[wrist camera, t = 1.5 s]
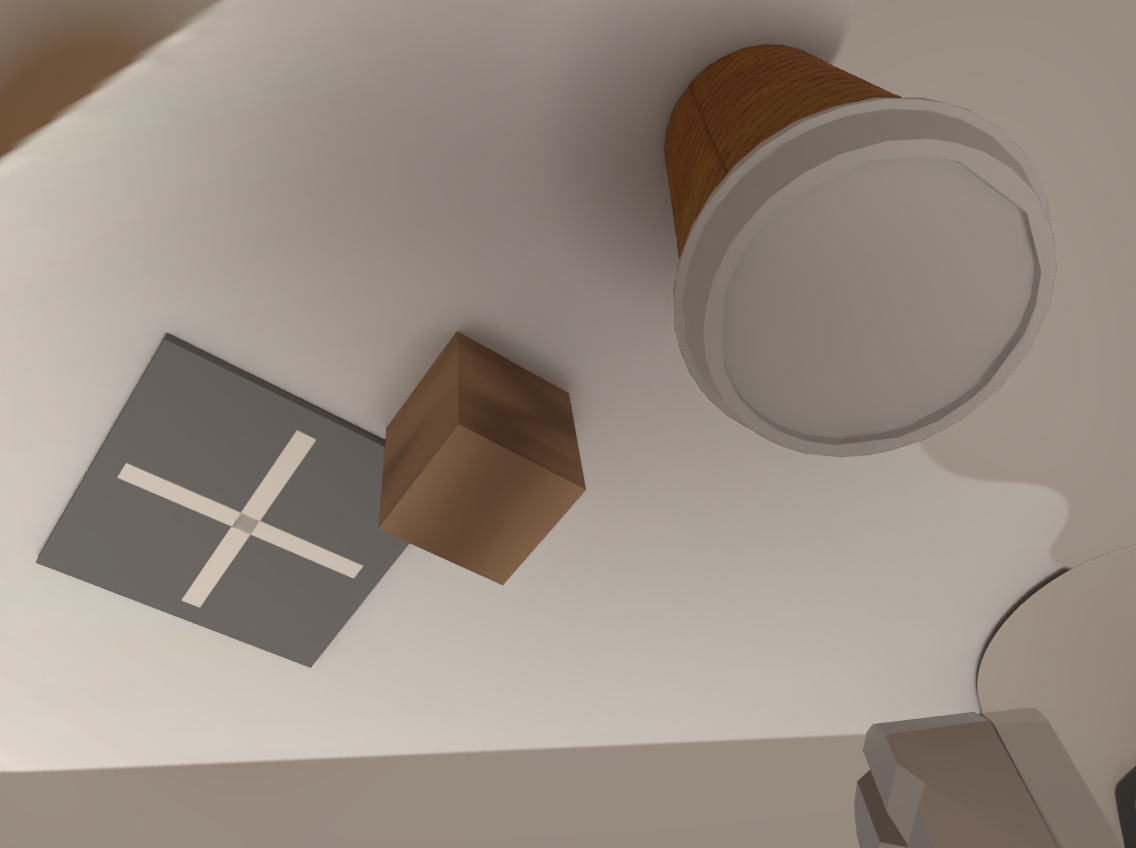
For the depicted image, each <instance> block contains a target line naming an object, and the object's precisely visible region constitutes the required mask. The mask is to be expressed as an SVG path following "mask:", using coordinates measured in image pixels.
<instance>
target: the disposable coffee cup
mask: <svg viewBox="0 0 1136 848" xmlns="http://www.w3.org/2000/svg"><path fill="white" fill-rule="evenodd" d="M665 160H666V168H667V173H668V180H669V187H670V194H671V202H672V209H673V217H674V224H675V231H676V237H677V247H678V254H679V263H678V268H677V274H676V280H675V285H674V291H673V292H674V319H675V331H676V335H677V339H678V343H679V347H680V351H681V353H682V356H683V358H684V361H685V363H686V365H687V368H688V370H689V373H690V374H691V376H692V377H693V379H694V380H695V382H696V383H697V384H698V386H699V387H700V389H701V390H702V392H703V393H704V394H705V395H706V396H707V397H708V398H709V400H710V401H711V402H712V403H713V404H715V405H716V406H717V407H718V408H719V409H720V410H722V411H723V412H724V413H725V414H726V415H727V416H729V417H730V418H732V419H734V420H736V421H737V422H739V423H741V424H742V425H744V426H746V427H748V428H749V429H751V430H753V431H754V432H756V433H757V434H758V435H760V436H762V437H764V438H766V439H768V440H770V441H772V442H774V443H776V444H778V445H780V446H783V447H786V448H789V449H792V450H796V451H799V452H802V453H805V454H814V455H825V456H837V457H848V456H862V455H871V454H876V453H881V452H886V451H890V450H894V449H897V448H900V447H903V446H906V445H909V444H912V443H915V442H918V441H921V440H924V439H926V438H928V437H930V436H932V435H934V434H935V433H937V432H939V431H941V430H943V429H945V428H947V427H948V426H950V425H952V424H954V423H956V422H958V421H960V420H962V419H963V418H964V417H965V416H967V415H968V414H969V413H970V412H972V411H973V410H974V409H975V408H976V407H978V406H979V405H980V404H982V403H983V402H984V401H985V400H987V399H988V398H989V397H990V396H991V395H993V394H994V393H995V392H996V391H998V390H999V388H1000V387H1001V386H1002V385H1003V383H1004V382H1005V381H1006V379H1007V378H1008V377H1009V376H1010V375H1011V373H1012V372H1013V371H1014V370H1015V369H1016V367H1017V366H1018V365H1019V364H1020V362H1021V361H1022V360H1023V359H1024V357H1025V356H1026V355H1027V353H1028V352H1029V351H1030V349H1031V347H1032V345H1033V343H1034V340H1035V338H1036V336H1037V334H1038V332H1039V330H1040V327H1041V325H1042V323H1043V321H1044V319H1045V317H1046V314H1047V312H1048V310H1049V308H1050V304H1051V298H1052V292H1053V286H1054V280H1055V273H1056V257H1055V243H1054V236H1053V233H1052V228H1051V220H1050V212H1049V205H1048V199H1047V197H1046V194H1045V192H1044V189H1043V187H1042V184H1041V181H1040V179H1039V176H1038V174H1037V171H1036V169H1035V168H1034V167H1033V165H1032V164H1031V162H1030V161H1029V160H1028V158H1027V157H1026V155H1025V154H1024V153H1023V151H1022V150H1021V148H1020V147H1019V146H1018V145H1017V144H1016V143H1015V142H1014V141H1013V140H1012V139H1011V138H1009V137H1008V136H1007V135H1006V134H1005V133H1004V132H1003V131H1002V130H1001V129H999V128H998V127H997V126H995V125H993V124H991V123H990V122H988V121H986V120H984V119H983V118H981V117H980V116H978V115H976V114H974V113H972V112H971V111H969V110H967V109H964V108H960V107H957V106H953V105H949V104H946V103H942V102H938V101H934V100H930V99H927V98H902V97H900V96H898V95H894V94H892V93H890V92H888V91H886V90H884V89H882V88H880V87H878V86H875V85H873V84H871V83H869V82H867V81H865V80H863V79H861V78H858V77H856V76H854V75H851V74H850V73H848V72H846V71H844V70H841V69H839V68H837V67H835V66H833V65H831V64H828V63H826V62H824V61H822V60H819V59H818V58H816V57H814V56H812V55H810V54H808V53H806V52H804V51H802V50H799V49H795V48H791V47H787V46H782V45H761V46H755V47H749V48H744V49H742V50H739V51H737V52H735V53H732V54H730V55H727V56H725V57H723V58H721V59H719V60H718V61H716V62H714V63H713V64H711V65H710V66H708V67H707V68H706V69H705V70H704V71H703V72H702V73H700V74H699V75H698V76H697V77H696V78H695V79H694V80H693V81H692V82H691V84H690V85H689V86H688V88H687V89H686V90H685V92H684V93H683V95H682V96H681V97H680V99H679V101H678V102H677V104H676V106H675V108H674V110H673V112H672V115H671V118H670V121H669V124H668V128H667V131H666V140H665Z"/></svg>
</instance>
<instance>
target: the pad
mask: <svg viewBox="0 0 1136 848" xmlns="http://www.w3.org/2000/svg"><path fill="white" fill-rule="evenodd" d="M384 453H385V440H383V439H380V438H378V437H376V436H374V435H372V434H370V433H368V432H366V431H364V430H362V429H360V428H358V427H356V426H354V425H352V424H350V423H348V422H346V421H344V420H342V419H340V418H338V417H336V416H334V415H332V414H330V413H328V412H326V411H324V410H321V409H319V408H317V407H315V406H313V405H311V404H309V403H307V402H305V401H303V400H301V399H299V398H297V397H295V396H293V395H291V394H289V393H287V392H285V391H283V390H281V389H279V388H277V387H275V386H273V385H271V384H269V383H267V382H264V381H262V380H260V379H258V378H256V377H254V376H252V375H250V374H248V373H246V372H244V371H242V370H240V369H238V368H236V367H234V366H232V365H230V364H228V363H226V362H224V361H222V360H220V359H218V358H216V357H214V356H212V355H210V354H208V353H205V352H203V351H201V350H199V349H197V348H195V347H193V346H191V345H189V344H187V343H185V342H183V341H181V340H179V339H177V338H175V337H173V336H171V335H169V334H166V336H165V337H164V339H163V341H162V343H161V344H160V346H159V348H158V350H157V351H156V353H155V355H154V357H153V358H152V360H151V362H150V364H149V365H148V367H147V369H146V370H145V372H144V374H143V376H142V377H141V379H140V381H139V383H138V384H137V386H136V388H135V390H134V391H133V393H132V395H131V397H130V398H129V400H128V402H127V403H126V405H125V407H124V409H123V410H122V412H121V414H120V416H119V417H118V419H117V421H116V423H115V424H114V426H113V428H112V430H111V431H110V433H109V435H108V436H107V438H106V440H105V442H104V443H103V445H102V447H101V449H100V450H99V452H98V454H97V456H96V457H95V459H94V461H93V463H92V464H91V466H90V468H89V469H88V471H87V473H86V475H85V476H84V478H83V480H82V482H81V483H80V485H79V487H78V489H77V490H76V492H75V494H74V496H73V497H72V499H71V501H70V502H69V504H68V506H67V508H66V509H65V511H64V513H63V515H62V516H61V518H60V520H59V522H58V523H57V525H56V527H55V529H54V530H53V532H52V534H51V536H50V537H49V539H48V541H47V542H46V544H45V546H44V548H43V549H42V551H41V553H40V555H39V556H38V559H37V561H36V563H38V564H41V565H43V566H46V567H48V568H51V569H54V570H56V571H59V572H62V573H64V574H67V575H69V576H72V577H75V578H77V579H80V580H82V581H85V582H88V583H90V584H93V585H96V586H98V587H101V588H103V589H106V590H109V591H111V592H114V593H116V594H119V595H122V596H124V597H127V598H130V599H132V600H135V601H137V602H140V603H143V604H145V605H148V606H150V607H153V608H156V609H158V610H161V611H164V612H166V613H169V614H171V615H174V616H177V617H179V618H182V619H184V620H187V621H190V622H192V623H195V624H198V625H200V626H203V627H205V628H208V629H211V630H213V631H216V632H218V633H221V634H224V635H226V636H229V637H232V638H234V639H237V640H239V641H242V642H245V643H247V644H250V645H252V646H255V647H258V648H260V649H263V650H266V651H268V652H271V653H273V654H276V655H279V656H281V657H284V658H286V659H289V660H292V661H294V662H297V663H300V664H302V665H305V666H307V667H310V668H311V667H312V665H313V664H314V663H315V662H316V660H317V659H318V658H319V657H320V655H321V654H322V653H323V652H324V650H325V649H326V648H327V647H328V645H329V644H330V643H331V641H332V640H333V639H334V638H335V636H336V635H337V634H338V633H339V631H340V630H341V629H342V628H343V626H344V625H345V624H346V623H347V621H348V620H349V619H350V618H351V616H352V615H353V614H354V612H355V611H356V610H357V609H358V607H359V606H360V605H361V604H362V602H363V601H364V600H365V599H366V597H367V596H368V595H369V594H370V592H371V591H372V590H373V589H374V587H375V586H376V585H377V583H378V582H379V581H380V580H381V578H382V577H383V576H384V575H385V573H386V572H387V571H388V570H389V568H390V567H391V566H392V565H393V563H394V562H395V561H396V560H397V558H398V557H399V556H400V554H401V553H402V552H403V551H404V549H405V548H406V547H407V546H408V544H409V543H408V542H406V541H404V540H402V539H399V538H397V537H395V536H393V535H391V534H388V533H386V532H384V531H382V530H380V529H378V527H379V515H380V502H381V490H382V478H383V465H384Z"/></svg>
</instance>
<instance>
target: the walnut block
mask: <svg viewBox="0 0 1136 848" xmlns="http://www.w3.org/2000/svg"><path fill="white" fill-rule="evenodd" d="M585 490H586V487H585V482H584V476H583V470H582V465H581V459H580V454H579V448H578V442H577V437H576V431H575V426H574V420H573V414H572V409H571V403H570V398H569V393H567V392H565V391H563V390H562V389H560V388H558V387H556V386H554V385H553V384H551V383H549V382H547V381H545V380H544V379H542V378H540V377H538V376H536V375H535V374H533V373H531V372H529V371H527V370H526V369H524V368H522V367H520V366H518V365H517V364H515V363H513V362H511V361H509V360H508V359H506V358H504V357H502V356H500V355H499V354H497V353H495V352H493V351H491V350H490V349H488V348H486V347H484V346H482V345H481V344H479V343H477V342H475V341H473V340H472V339H470V338H468V337H466V336H464V335H462V334H461V333H459V332H456V333H455V335H454V336H453V338H452V339H451V340H450V342H449V343H448V344H447V346H446V347H445V349H444V350H443V351H442V353H441V354H440V355H439V357H438V358H437V360H436V361H435V362H434V364H433V365H432V366H431V368H430V369H429V371H428V372H427V373H426V375H425V376H424V377H423V379H422V380H421V382H420V383H419V384H418V386H417V387H416V388H415V390H414V391H413V393H412V394H411V395H410V397H409V398H408V399H407V401H406V402H405V404H404V405H403V406H402V408H401V409H400V410H399V412H398V413H397V414H396V416H395V417H394V419H393V420H392V421H391V423H390V424H389V425H388V427H387V428H386V440H385V453H384V465H383V478H382V490H381V502H380V515H379V527H378V529H380V530H382V531H384V532H386V533H388V534H391V535H393V536H395V537H397V538H399V539H402V540H404V541H406V542H408V543H410V544H413V545H415V546H417V547H419V548H421V549H424V550H426V551H428V552H430V553H433V554H435V555H437V556H439V557H441V558H444V559H446V560H448V561H450V562H452V563H455V564H457V565H459V566H461V567H463V568H466V569H468V570H470V571H472V572H475V573H477V574H479V575H481V576H483V577H486V578H488V579H490V580H492V581H494V582H497V583H499V584H501V585H503V584H504V583H505V582H506V581H507V580H508V579H509V578H510V576H511V575H512V574H513V573H514V572H515V571H516V570H517V568H518V567H519V566H520V565H521V564H522V563H523V561H524V560H525V559H526V558H527V557H528V556H529V555H530V553H531V552H532V551H533V550H534V549H535V548H536V547H537V545H538V544H539V543H540V542H541V541H542V540H543V538H544V537H545V536H546V535H547V534H548V533H549V532H550V530H551V529H552V528H553V527H554V526H555V525H556V524H557V522H558V521H559V520H560V519H561V518H562V517H563V516H564V514H565V513H566V512H567V511H568V510H569V509H570V507H571V506H572V505H573V504H574V503H575V502H576V501H577V499H578V498H579V497H580V496H581V495H582V494H583V493H584V491H585Z"/></svg>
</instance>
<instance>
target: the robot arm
mask: <svg viewBox="0 0 1136 848" xmlns="http://www.w3.org/2000/svg"><path fill="white" fill-rule="evenodd" d="M977 691H978V698H979V702H980V707H981V711H982V713H979V714H977V713H975V712H970V713H962V714H954V715H945V716H937V717H929V718H920V719H912V720H904V721H895V722H887V723H879V724H873V725H872V726H871V727H870V729H869V730H868V731H867V733H866V738H865V743H864V748H863V752H864V754H865V757H866V759H867V762H868V765H869V767H870V770H869V771H868V772H867V773H866V774H865V775H864V776H863V777H862V778H860V779H859V780H858V781H857V788H856V795H855V803H854V808H855V820H856V830H857V837H858V841H859V845H860V848H1136V544H1135V545H1131V546H1127V547H1124V548H1121V549H1118V550H1115V551H1112V552H1109V553H1106V554H1103V555H1101V556H1099V557H1096V558H1094V559H1091V560H1089V561H1087V562H1085V563H1083V564H1081V565H1079V566H1077V567H1075V568H1073V569H1071V570H1069V571H1067V572H1066V573H1064V574H1062V575H1061V576H1059V577H1057V578H1056V579H1054V580H1053V581H1051V582H1050V583H1048V584H1047V585H1045V586H1044V587H1043V588H1041V589H1040V590H1038V591H1037V592H1036V593H1035V594H1033V595H1032V596H1031V597H1030V598H1028V599H1027V600H1026V601H1025V602H1024V603H1023V604H1022V605H1021V606H1020V607H1019V608H1018V609H1016V610H1015V611H1014V612H1013V614H1012V615H1011V616H1010V617H1009V618H1008V619H1007V620H1006V621H1005V623H1004V624H1003V625H1002V626H1001V627H1000V629H999V630H998V632H997V633H996V634H995V636H994V637H993V639H992V641H991V642H990V644H989V646H988V648H987V650H986V652H985V654H984V656H983V659H982V662H981V665H980V668H979V673H978V680H977Z"/></svg>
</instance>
